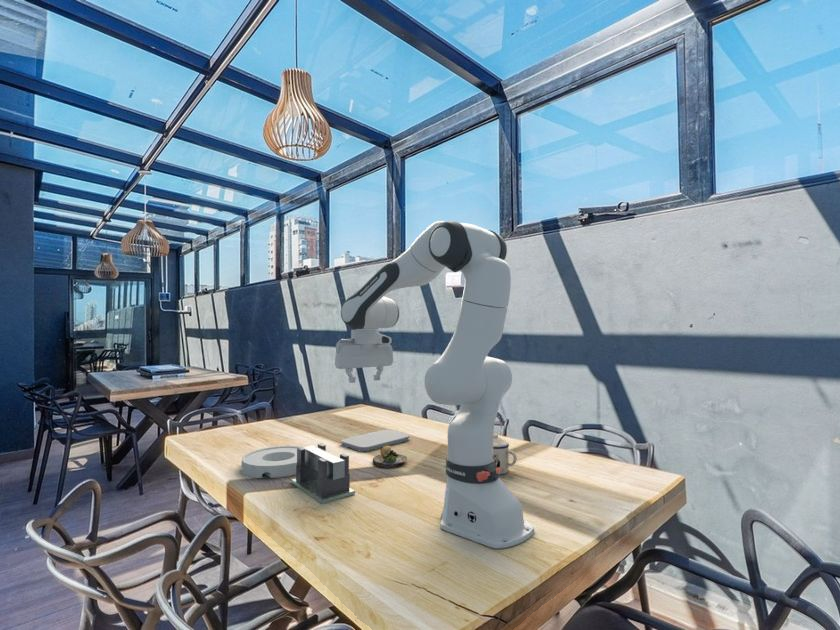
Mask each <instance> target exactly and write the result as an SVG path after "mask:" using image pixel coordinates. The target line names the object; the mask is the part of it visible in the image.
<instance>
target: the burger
mask: <svg viewBox="0 0 840 630" xmlns="http://www.w3.org/2000/svg"><path fill="white" fill-rule="evenodd" d="M382 444H383V443H382ZM379 452H380V454H378V455H376V456H374V457H372V465H373V466H374V467H376V468H377V467H378V468H380V469H397V468H398V467H399V466H400V464H403V463H404V462H405V461H407V459H408V458H407V456H405V455H402V454H398V453H397V452H396V451H394V450H393V449H392V446H391V445H390V446H384V447H382V448H380V451H379Z"/></svg>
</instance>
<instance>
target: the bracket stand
mask: <svg viewBox="0 0 840 630" xmlns="http://www.w3.org/2000/svg"><path fill="white" fill-rule="evenodd" d="M326 447H327V445H325V444H324V443H317V448H320V449H322V450H324V451H326V452H327V448H326ZM339 458H341V459H343V460H345V477H343V478H339V479H335V480H332V479H331V478H329V477H327V460H325V459H323V458H320V459H318V471H317V470H315V469H313V468H311V467H310V466H308V465H306V464H305V449H303V448H301V447H299V448H297V465H296V474H295V478H291V482H290V483H291V484H293V485H294V486H296V487H297V488H299V489H300V490H301V491H302V492H304V493H306V494H307V495H308V496H310V497H311V498H313V499H314V500H316V502H319V503H320V504H325V503H326V504H327V503H330V502H333V501H337V500H340V499H344V498H347V497H351V496H354V495H355V494H356V491H355V490H354V489H353V488H350V485H351V484H350V479H351V478H350V476H351V475H350V455H348V454H346V453H340V454H339Z"/></svg>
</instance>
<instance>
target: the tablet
mask: <svg viewBox="0 0 840 630" xmlns="http://www.w3.org/2000/svg"><path fill="white" fill-rule="evenodd" d="M409 438H410V434H408V433H404V432H400V431H397V430H392V429H380V430H377V431H372V432H369V433H364V434H363V433H362V434H358V435H354V436H351V437H346V438H343V439H341V440H340V442H341V444H342V446H343V445H344V446H343V447H345V446H347V447H346V448H348V447H350V449H352V448H353V449H352V450H355V449H356V451H358V450H360V451H359V452H363V451H366V452H369V450H371V451H374V450H373V449H375V450H378V449H382V448H383V447H384V446H389V445H390V446H393V445H397V444H401V443H403V442H408V441H409ZM382 443H383V444H382ZM381 447H382V448H381ZM377 448H378V449H377Z"/></svg>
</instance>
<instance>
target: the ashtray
mask: <svg viewBox="0 0 840 630" xmlns="http://www.w3.org/2000/svg"><path fill="white" fill-rule="evenodd" d="M299 447H301V448H302V447H303V446H300V445H277V446H270V447H269V446H267V447H262V448H260V449H255V450H252V451H250V452H247V453H246V454H244V455H243V456H242V457H241V473H242V474H244V475H245V476H248V477H251V478H258V479H263V474H264V475H265V476H267V477H269V478H271V479H274V478H275V479H276V478H285V477H289V476H290V477H291V476H294V475H295V476H296V465H297V448H299Z"/></svg>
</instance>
